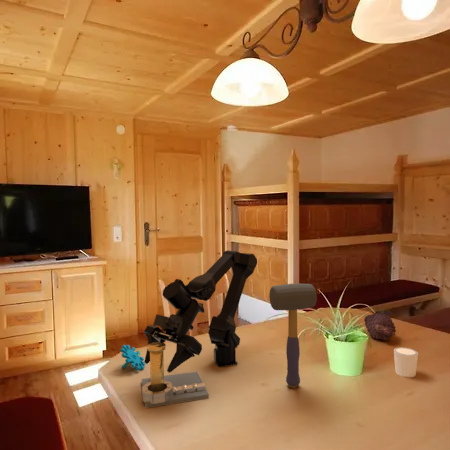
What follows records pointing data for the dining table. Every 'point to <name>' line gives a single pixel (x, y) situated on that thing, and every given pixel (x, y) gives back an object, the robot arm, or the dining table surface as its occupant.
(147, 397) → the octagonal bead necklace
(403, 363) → the shot glass
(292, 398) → the dining table surface
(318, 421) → the dining table surface
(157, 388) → the golden flared cup
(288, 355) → the rubber mallet
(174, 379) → the grey base plate
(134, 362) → the gear
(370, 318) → the pine cone
